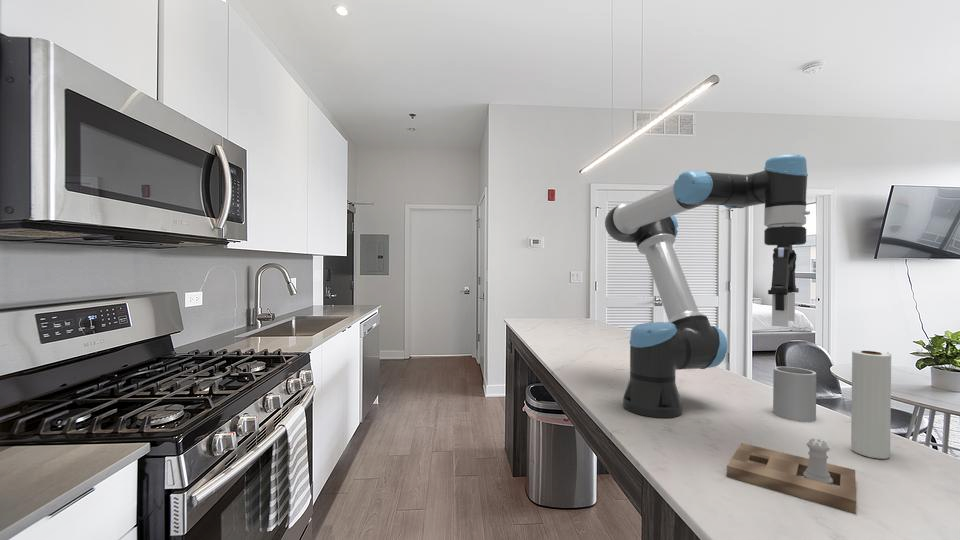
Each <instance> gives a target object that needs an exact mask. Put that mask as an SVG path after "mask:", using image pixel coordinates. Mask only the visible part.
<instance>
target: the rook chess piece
mask: <svg viewBox="0 0 960 540" xmlns="http://www.w3.org/2000/svg"><path fill="white" fill-rule="evenodd" d="M806 447H808V449H809V451H808V452H807V454H808V456H809V458H808V459H809V464H808V468H806V471H805V472H804V473H803V476H802V477H804V478H808V479H812V480H815V481H819V482H823V483H827V484H831V485H834V484H833V479H832V478H831V477H830V474H829V472H828V468H827V461H828V459H829V456H828V455H827V453H828V452H829V451H830V447H829V446H828V442H827V441H825V440H822V439H819V438H817V439H815V438H809V439H808V442H807V443H806Z"/></svg>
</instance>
